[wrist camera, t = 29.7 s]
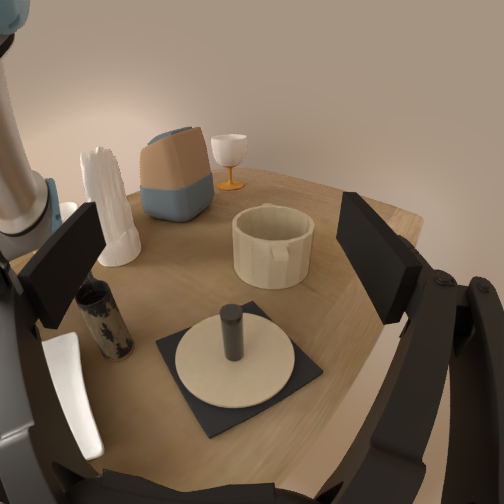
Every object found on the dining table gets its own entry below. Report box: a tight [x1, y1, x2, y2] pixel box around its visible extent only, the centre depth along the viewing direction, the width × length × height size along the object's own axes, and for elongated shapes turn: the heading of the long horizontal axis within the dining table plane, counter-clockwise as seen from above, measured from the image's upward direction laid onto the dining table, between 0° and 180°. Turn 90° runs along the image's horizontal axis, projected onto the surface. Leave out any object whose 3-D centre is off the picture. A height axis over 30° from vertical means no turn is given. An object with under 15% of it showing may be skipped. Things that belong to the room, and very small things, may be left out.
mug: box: [75, 270, 134, 362], centre depth 34 cm, size 8×6×12 cm
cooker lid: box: [175, 304, 295, 408], centre depth 33 cm, size 16×16×9 cm
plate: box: [42, 332, 104, 461], centre depth 24 cm, size 21×21×3 cm
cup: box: [211, 134, 247, 190], centre depth 90 cm, size 12×12×17 cm
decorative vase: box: [80, 147, 142, 267], centre depth 52 cm, size 11×11×25 cm
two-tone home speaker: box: [140, 127, 214, 222], centre depth 71 cm, size 17×17×23 cm
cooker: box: [232, 203, 315, 289], centre depth 53 cm, size 15×20×10 cm
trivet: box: [156, 301, 323, 439], centre depth 36 cm, size 17×17×1 cm
